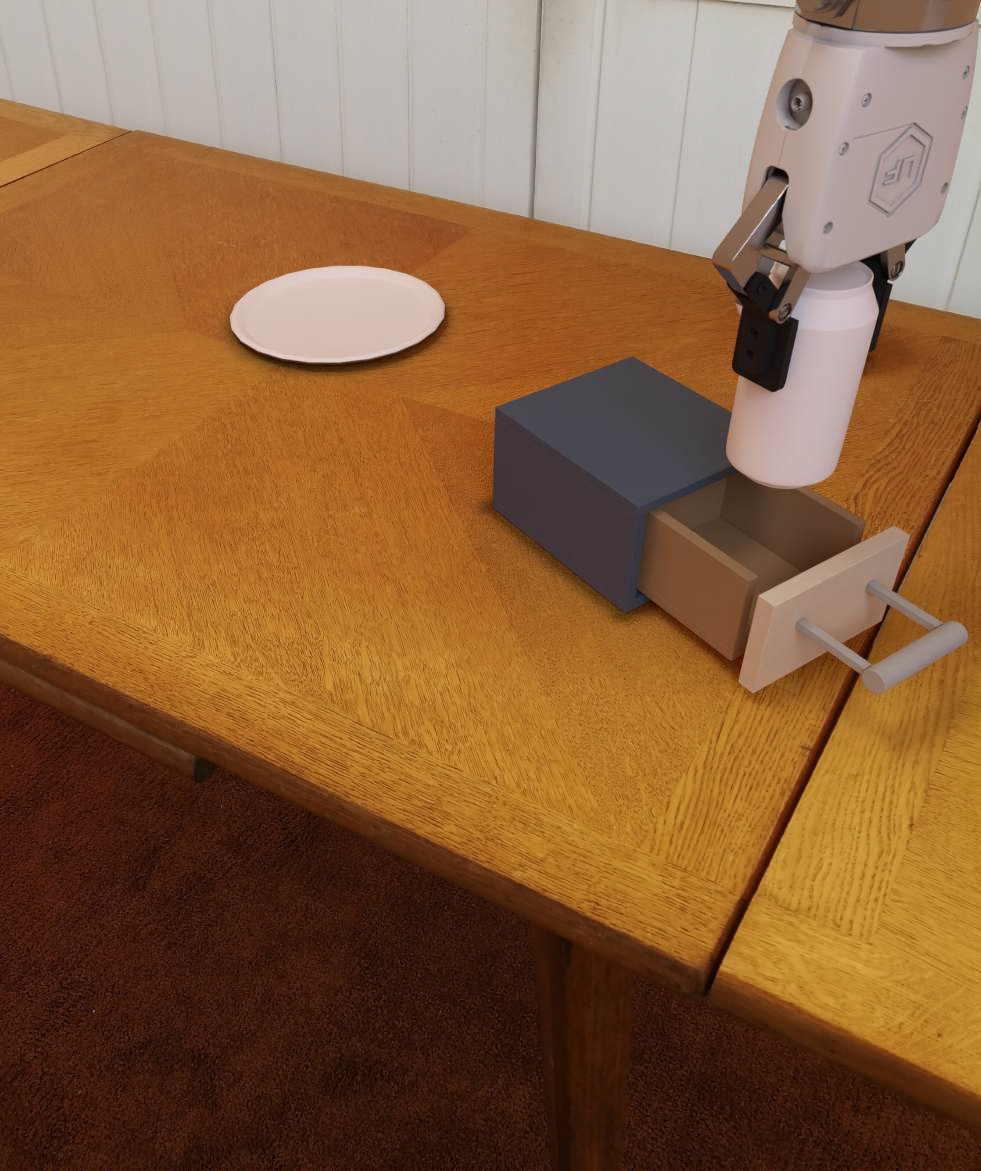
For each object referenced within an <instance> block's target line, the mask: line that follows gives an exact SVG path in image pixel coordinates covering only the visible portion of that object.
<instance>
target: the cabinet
mask: <svg viewBox="0 0 981 1171" xmlns="http://www.w3.org/2000/svg"><path fill="white" fill-rule="evenodd" d="M731 416H732V411H730V410H728V408H727V409H726V408H725V407H723V406H721V405H720V404H719V403H717V402H715V401H713V400H711V399H709V398H707V397H706V396H704V395H702V394H700V393H699V392H697V391H695V390H694V389H691V388H690V387H688V386H686V385H684V384H683V383H681V382H679V381H677V380H675V379H674V378H672V377H670V376H668V375H667V374H665V373H663V372H662V371H660V370H659V369H657V368H655V367H652V366H651V365H650V364H647V363H645V362H644V361H642V360H640V359H638V358H637V357H635V356H629V357H626V358H624V359H621V360H618V361H616V362H613V363H610V364H607V365H605V366H602V367H599V368H597V369H594V370H591V371H589V372H586V373H583V374H580V375H578V376H575V377H572V378H570V379H567V380H564V381H562V382H561V381H560V382H558V383H556V384H554V385H551V386H547V387H545V388H543V389H540V390H537V391H534V392H532V393H529V394H526V395H523V396H521V397H518V398H515V399H513V400H510V401H507V402H505V403H502V404H499V405H497V406H495V408H494V430H493V431H494V433H493V435H494V436H493V439H494V440H493V464H492V465H493V466H492V468H493V470H492V508H493V509H494V510H495V511H496V512H498V514H500V515H501V516H503V518H505V520H508V522H510V523H511V524H512V525H514V526H515V527H516V528H517V529H519V530H520V531H521V532H522V533H524V534H525V535H526V536H527V537H529V538H530V539H531V540H532V541H533V542H535V543H536V544H538V545H539V546H540V547H541V548H542V549H544V550H545V551H546V552H547V553H548V554H549V555H551V556H552V557H553V558H555V559H556V560H557V561H558V562H559V563H561V564H562V565H564V567H566V568H567V569H568V570H570V571H571V572H572V573H574V574H575V575H576V576H577V577H579V578H580V579H581V580H582V581H583V582H585V583H586V584H587V585H588V586H590V587H591V588H592V589H593V590H595V591H596V592H597V593H598V594H599V595H601V596H602V597H604V598H605V599H606V600H607V601H608V602H610V603H611V604H612V605H613V606H615V607H616V608H617V609H618V610H620V611H621V612H622V613H623V614H626V613H629V612H630V611H633V610H634V609H637V608H639V607H641V606H643V605H645V604H647V603H649V602H651V601H652V600H651V599H650V598H648V597H647V596H646V595H644V594H643V593H642V592H641V591H639V590H638V589H637V581H638V574H639V567H640V560H641V553H642V546H643V539H644V532H645V525H646V518H647V513H648V512H650V511H652V510H654V509H657V508H659V507H661V506H663V505H666V504H668V503H670V502H672V501H674V500H677V499H679V498H681V497H683V496H686V495H688V494H690V493H692V492H695V491H697V490H699V489H701V488H703V487H706V486H708V485H710V484H712V483H715V482H717V481H719V480H721V479H724V478H726V477H728V476H730V475H732V474H735V473H737V472H739V471H738V470H737V469H736V468H735V467H734V466H733V465H732V464H731V463H730V461H729V459H728V457H727V454H726V445H727V438H728V432H729V427H730V421H731Z"/></svg>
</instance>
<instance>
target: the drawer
mask: <svg viewBox="0 0 981 1171" xmlns="http://www.w3.org/2000/svg"><path fill="white" fill-rule="evenodd" d="M867 522H868V521H867V520H866V519H864V518H862V517H860V516H859V515H857V514H855V513H853V511H850V510H849V509H847V508H845V507H844V506H842V505H840V504H838V503H837V502H835V501H833V500H831V499H830V498H828V497H826V496H825V495H824V494H821V493H819V492H818V491H817V490H815V489H813V488H812V487H809V485H807V486H803V487H800V488H793V489H779V488H773V487H768V486H764V485H761V484H759V483H757V482H755V481H753V480H751V479H749V478H748V477H747V476H746V475H744V474H742V473H741V472H737V473H735V474H732V475H730V476H728V477H726V478H724V479H721V480H719V481H717V482H715V483H712V484H710V485H708V486H706V487H703V488H701V489H699V490H697V491H695V492H692V493H690V494H688V495H686V496H683V497H681V498H679V499H677V500H674V501H672V502H670V503H668V504H666V505H663V506H661V507H659V508H657V509H654V510H652V511H650V512H648V513H647V518H646V525H645V532H644V539H643V546H642V553H641V560H640V567H639V574H638V581H637V589H638V590H639V591H641V592H642V593H643V594H644V595H646V596H647V597H648V598H650V599H651V601H652V602H654V604H656V605H657V606H659V607H660V608H661V609H662V610H664V611H665V612H666V613H667V614H669V615H670V616H672V617H673V618H674V619H675V620H677V621H678V622H679V623H681V624H682V625H683V626H684V627H686V628H687V629H688V630H690V631H691V632H692V633H693V634H695V635H696V636H698V637H699V638H700V639H702V640H703V641H704V642H705V643H707V644H708V645H709V646H711V647H712V648H713V649H714V650H715V651H717V652H718V653H720V654H721V655H722V656H723V657H725V658H726V659H727V660H729V661H730V662H732V661H734V660H736V659H737V658H739V657H741V656H743V659H742V663H741V668H740V672H739V675H738V676H739V677H738V683H739V685H741V686H742V687H743V688H745V689H746V690H747V691H749V692H750V693H751V694H755V693H756V692H758V691H760V690H762V689H764V688H765V687H767V686H769V685H770V684H773V683H774V682H776V681H778V680H780V679H781V678H783V677H785V676H786V675H788V674H790V673H792V672H794V671H796V670H797V669H799V668H802V666H804V665H806V664H808V663H810V662H811V661H813V660H815V659H817V658H818V657H820V656H822V655H824V654H826V653H827V652H828V653H830V654H831V655H832V656H834V657H835V658H837V659H838V660H839V661H841V662H842V663H844V665H846V666H848V667H849V668H851V669H852V670H853V671H855V672H856V673H858V674H859V675H860V676H861V681H862V684H863V686H864V687H865V689H866V690H867V691H868V692H870V693H871V694H873V695H877V696H879V695H882V694H884V693H886V692H888V691H889V690H891V689H893V688H894V687H896V686H898V685H899V684H901V683H902V682H904V681H906V680H908V679H909V678H911V677H913V676H914V675H916V674H917V673H919V672H921V671H923V670H925V669H926V668H927V667H929V666H931V665H932V664H934V663H935V662H937V661H939V660H940V659H942V658H944V657H946V656H947V655H949V654H950V653H953V652H954V651H955V650H957V649H959V648H960V647H962V646H964V645H965V644H966V643H967V642H968V639H969V633H968V630H967V628H966V627H965V626H964V624H962V623H960V622H959V621H957V620H948V621H946V622H943V621H941V620H940V619H938V618H936V617H935V616H933V615H932V614H930V613H929V612H927V611H925V610H923V609H922V608H921V607H919V606H917V605H916V604H914V603H912V602H911V601H909V600H908V599H906V598H905V597H904V596H902V595H899V593H897V592H895V591H893V588H894V586H895V582H896V580H897V576H898V573H899V571H900V567H901V565H902V562H903V559H904V556H905V553H906V549H907V546H908V543H909V541H910V538H911V534H909V533H908V532H906V531H905V530H903V529H901V528H899V527H897V526H896V525H891V526H890V527H888V528H886V529H884V530H882V531H880V532H878V533H876V534H874V535H873V536H871V537H869V538H867V539H864V540H863V541H862V538H863V535H864V531H865V529H866V524H867ZM887 606H889V607H892V608H893V609H894V610H895V611H897V612H899V613H901V614H902V615H903V616H905V617H907V618H908V619H910V620H912V621H913V622H915V623H916V624H918V625H919V626H920V627H922V628H924V629H925V630H927V631H928V633H926V634H924V635H922V636H920V637H919V638H916V639H915V640H914V641H912V642H910V643H908V644H906V645H905V646H904V647H902V648H900V649H898V650H896V651H894V652H893V653H891V654H890V655H888V656H886V657H885V658H883V659H882V660H879V661H878V662H876V663H874V664H872V663H870V662H869V661H868V660H866V658H864V657H863V656H860V655H859V654H858V653H856V652H855V651H853V650H852V649H851V648H849V647H848V646H846V645H845V644H844V643H846V642H847V641H848V640H850V639H852V638H854V637H856V636H857V635H859V634H861V633H863V632H864V631H866V630H868V629H871V627H873V626H875V625H877V624H878V623H880V622H882V621H883V619H884V618H883V617H884V615H885V613H886V610H887Z"/></svg>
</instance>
